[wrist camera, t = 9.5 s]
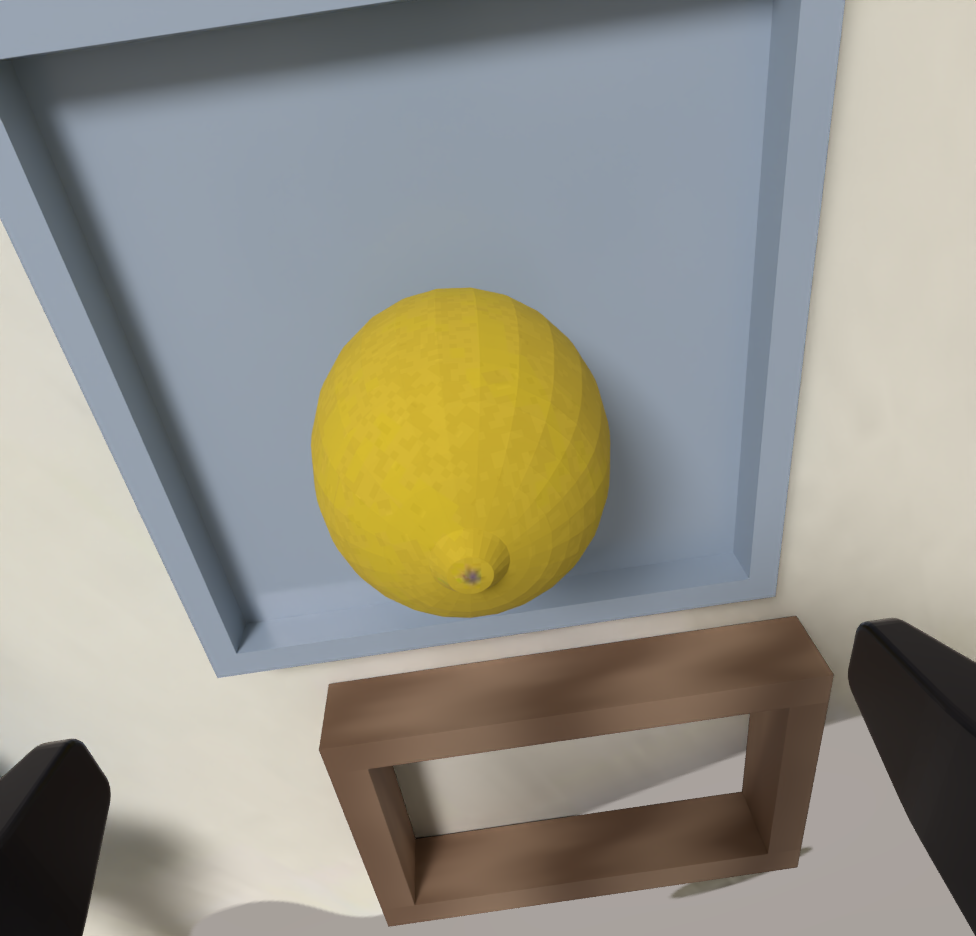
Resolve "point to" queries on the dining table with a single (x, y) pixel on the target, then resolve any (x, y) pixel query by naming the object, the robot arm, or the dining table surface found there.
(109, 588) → the dining table surface
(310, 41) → the tray
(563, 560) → the lemon
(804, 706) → the holder
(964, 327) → the dining table surface
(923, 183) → the dining table surface
